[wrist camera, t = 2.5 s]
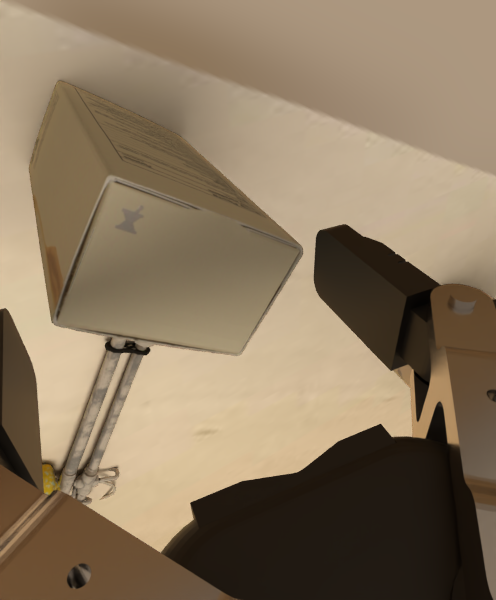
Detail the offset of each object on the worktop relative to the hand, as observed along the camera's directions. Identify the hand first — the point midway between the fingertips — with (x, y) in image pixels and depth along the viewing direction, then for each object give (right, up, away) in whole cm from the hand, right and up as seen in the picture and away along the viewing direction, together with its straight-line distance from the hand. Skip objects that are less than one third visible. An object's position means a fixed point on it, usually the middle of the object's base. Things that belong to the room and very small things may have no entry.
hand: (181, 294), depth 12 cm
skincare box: (-5, +7, +10) cm, 13 cm away
